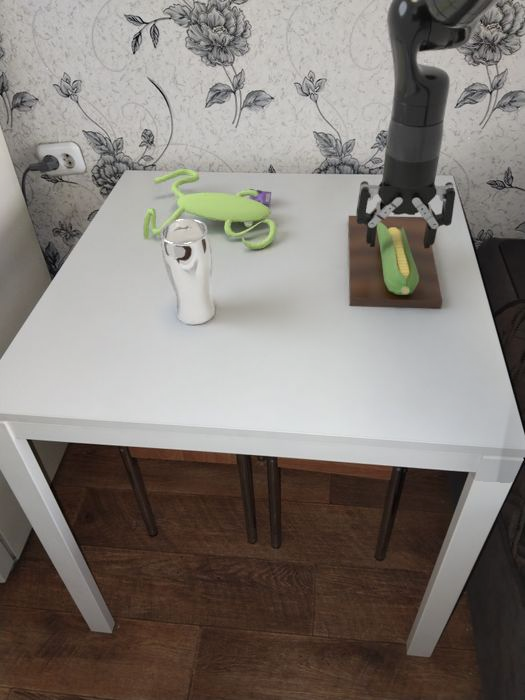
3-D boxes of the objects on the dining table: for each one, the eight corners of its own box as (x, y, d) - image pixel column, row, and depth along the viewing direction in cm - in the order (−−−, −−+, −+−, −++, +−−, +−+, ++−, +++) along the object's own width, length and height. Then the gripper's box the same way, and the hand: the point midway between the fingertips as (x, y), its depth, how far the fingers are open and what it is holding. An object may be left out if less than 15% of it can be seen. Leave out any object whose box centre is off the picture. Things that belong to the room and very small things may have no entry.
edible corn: (385, 304, 90) (389, 280, 87) (372, 231, 104) (375, 208, 101) (420, 303, 90) (424, 280, 87) (402, 231, 104) (405, 208, 101)
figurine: (165, 188, 121) (161, 162, 117) (292, 201, 116) (292, 174, 112) (129, 237, 108) (122, 211, 105) (269, 254, 103) (268, 227, 99)
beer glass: (216, 326, 90) (206, 244, 80) (171, 327, 90) (155, 245, 80) (219, 297, 95) (210, 216, 84) (176, 298, 95) (162, 217, 85)
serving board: (440, 308, 91) (442, 301, 90) (349, 305, 92) (350, 298, 91) (425, 224, 108) (426, 216, 107) (348, 222, 109) (348, 215, 108)
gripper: (362, 160, 81) (354, 257, 92) (468, 160, 80) (447, 259, 91) (361, 136, 86) (353, 231, 98) (460, 136, 85) (441, 232, 96)
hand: (399, 244), depth 94 cm, fingers open, 8 cm apart
